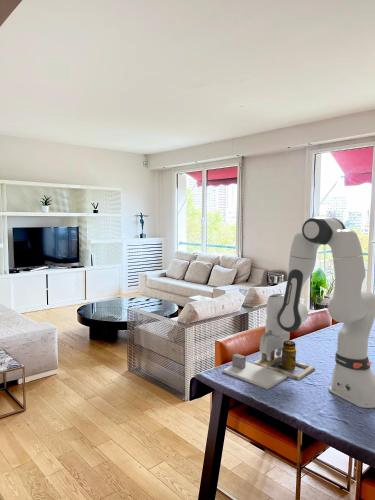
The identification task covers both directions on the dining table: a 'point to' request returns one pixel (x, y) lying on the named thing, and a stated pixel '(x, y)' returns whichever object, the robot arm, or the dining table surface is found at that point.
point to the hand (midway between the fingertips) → (274, 358)
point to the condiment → (288, 357)
